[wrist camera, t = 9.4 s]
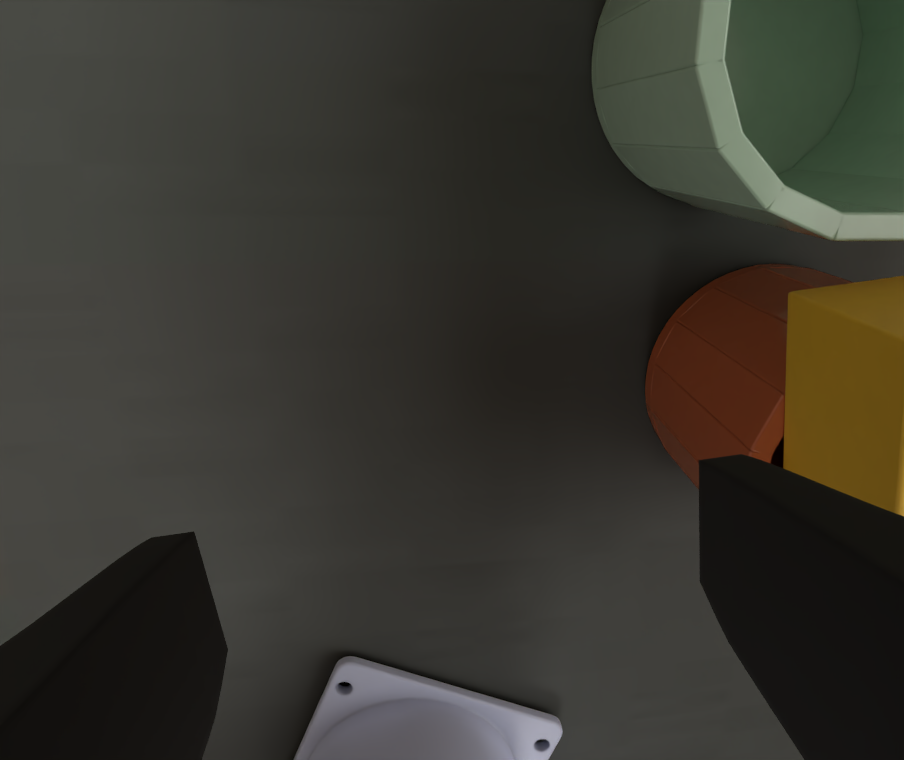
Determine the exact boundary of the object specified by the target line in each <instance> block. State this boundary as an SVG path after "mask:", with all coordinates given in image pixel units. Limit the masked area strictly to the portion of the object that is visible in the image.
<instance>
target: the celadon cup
mask: <svg viewBox="0 0 904 760" xmlns="http://www.w3.org/2000/svg"><path fill="white" fill-rule="evenodd" d="M592 88H593V97H594V102H595V106H596V110H597V114H598V118H599V121H600V123H601V126H602V128H603V131H604V134H605V136H606V138H607V139H608V141H609V143H610V145H611V147H612V149H613V150H614V152H615V153H616V154H617V156H618V157H619V158H620V160H621V161H622V162H623V164H624V165H625V166H626V167H627V168H628V169H629V170H630V171H631V172H632V173H633V174H634V175H635V176H636V177H637V178H639V179H640V180H641V181H643V182H644V183H645V184H646V185H648V186H649V187H651V188H653V189H655V190H656V191H658V192H660V193H662V194H664V195H666V196H669V197H672V198H674V199H677V200H680V201H683V202H685V203H687V204H689V205H692V206H694V207H698V208H702V209H706V210H710V211H714V212H718V213H722V214H726V215H730V216H734V217H739V218H743V219H747V220H751V221H755V222H759V223H763V224H767V225H771V226H775V227H779V228H783V229H787V230H791V231H795V232H799V233H803V234H807V235H811V236H815V237H819V238H823V239H827V240H832V241H904V0H606V2H605V5H604V8H603V10H602V13H601V16H600V19H599V22H598V26H597V30H596V34H595V38H594V45H593V53H592Z"/></svg>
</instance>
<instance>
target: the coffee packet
mask: <svg viewBox="0 0 904 760" xmlns="http://www.w3.org/2000/svg"><path fill="white" fill-rule="evenodd" d="M783 469H786V470H789V471H791V472H793V473H796V474H798V475H801V476H803V477H806V478H808V479H811V480H813V481H815V482H818V483H820V484H823V485H825V486H828V487H830V488H833V489H835V490H838V491H840V492H842V493H845V494H847V495H850V496H852V497H855V498H857V499H860V500H862V501H865V502H867V503H870V504H872V505H875V506H878V507H880V508H883V509H885V510H888V511H891V512H893V513H896V514H899V515H901V516H904V276H899V277H891V278H884V279H877V280H870V281H863V282H856V283H848V284H841V285H834V286H827V287H820V288H812V289H805V290H798V291H792V292H790V293H789V294H788V315H787V351H786V386H785V421H784V457H783Z"/></svg>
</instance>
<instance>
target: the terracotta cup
mask: <svg viewBox="0 0 904 760" xmlns="http://www.w3.org/2000/svg"><path fill="white" fill-rule="evenodd" d="M848 283H854V282H851V281H848V280H845V279H842V278H839V277H836V276H832V275H829V274H826V273H823V272H820V271H817V270H814V269H811V268H807V267H798V266H793V265H785V264H765V265H756V266H751V267H746V268H742V269H739V270H736V271H733V272H730V273H728V274H726V275H724V276H721V277H719V278H717V279H715V280H713V281H712V282H710V283H709V284H707V285H705V286H704V287H702V288H701V289H699V290H698V291H697V292H695V293H694V294H693V295H692V296H691V297H689V298H688V299H687V300H686V301H685V302H684V303H683V304H682V305H681V306H680V307H679V308H678V309H677V310H676V311H675V313H674V314H673V315H672V317H671V318H670V319H669V320H668V322H667V323H666V325H665V326H664V328H663V330H662V331H661V333H660V335H659V336H658V339H657V341H656V343H655V345H654V348H653V350H652V353H651V356H650V360H649V363H648V367H647V373H646V380H645V397H646V406H647V410H648V414H649V418H650V421H651V423H652V426H653V428H654V430H655V433H656V434H657V436H658V437H659V439H660V441H661V442H662V445H663V446H664V448H665V449H666V451H667V452H668V453H669V454H670V456H671V457H672V458H673V459H674V460H675V462H676V463H677V464H678V465H679V466H680V468H681V469H682V470H683V471H684V472H685V474H686V475H687V476H688V477H689V478H690V480H691V481H692V482H693V483H694V485H695V486H696V487H697V488H698V489H699V460H703V459H710V458H717V457H724V456H731V455H738V454H743V455H747V456H750V457H754V458H757V459H759V460H762V461H765V462H768V463H771V464H773V465H776V466H778V467H781V468H783V457H784V421H785V386H786V351H787V315H788V294H789V293H790V292H792V291H798V290H805V289H812V288H820V287H827V286H834V285H841V284H848Z"/></svg>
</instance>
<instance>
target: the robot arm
mask: <svg viewBox="0 0 904 760" xmlns="http://www.w3.org/2000/svg"><path fill="white" fill-rule="evenodd" d="M699 532H700V583H701V585H702V587H703V589H704V591H705V594H706V596H707V598H708V600H709V602H710V605H711V607H712V609H713V611H714V613H715V615H716V617H717V620H718V622H719V624H720V626H721V628H722V630H723V632H724V634H725V636H726V638H727V640H728V642H729V644H730V645H731V647H732V648H733V650H734V652H735V653H736V655H737V656H738V658H739V660H740V661H741V663H742V664H743V666H744V667H745V669H746V670H747V672H748V674H749V675H750V677H751V678H752V680H753V681H754V683H755V685H756V686H757V688H758V689H759V691H760V692H761V694H762V695H763V697H764V698H765V700H766V701H767V703H768V705H769V706H770V708H771V709H772V711H773V712H774V714H775V715H776V717H777V718H778V720H779V721H780V723H781V724H782V726H783V727H784V729H785V731H786V732H787V734H788V735H789V737H790V738H791V740H792V741H793V743H794V744H795V746H796V747H797V749H798V750H799V752H800V754H801V755H802V757H803V758H804V760H904V516H901V515H899V514H896V513H893V512H891V511H888V510H885V509H883V508H880V507H878V506H875V505H872V504H870V503H867V502H865V501H862V500H860V499H857V498H855V497H852V496H850V495H847V494H845V493H842V492H840V491H838V490H835V489H833V488H830V487H828V486H825V485H823V484H820V483H818V482H815V481H813V480H811V479H808V478H806V477H803V476H801V475H798V474H796V473H793V472H791V471H789V470H786V469H783V468H781V467H778V466H776V465H773V464H771V463H768V462H765V461H762V460H759V459H757V458H754V457H750V456H747V455H743V454H738V455H731V456H724V457H717V458H710V459H703V460H699ZM227 652H228V648H227V645H226V641H225V638H224V634H223V631H222V627H221V624H220V620H219V617H218V613H217V610H216V606H215V603H214V599H213V596H212V592H211V589H210V585H209V582H208V578H207V575H206V571H205V568H204V564H203V561H202V557H201V554H200V550H199V547H198V543H197V540H196V536H195V533H194V532H188V533H181V534H174V535H167V536H160V537H153V538H150V539H148V540H146V541H145V542H143V543H141V544H140V545H138V546H137V547H135V548H134V549H132V550H131V551H129V552H128V553H126V554H125V555H123V556H122V557H121V558H119V559H118V560H116V561H115V562H114V563H112V564H111V565H110V566H108V567H107V568H106V569H104V570H103V571H102V572H100V573H99V574H97V575H96V576H95V577H94V578H92V579H91V580H90V581H88V582H87V583H86V584H84V585H83V586H82V587H80V588H79V589H78V590H76V591H75V592H74V593H72V594H71V595H70V596H68V597H67V598H66V599H64V600H63V601H62V602H60V603H59V604H58V605H56V606H55V607H54V608H52V609H51V610H50V611H48V612H47V613H46V614H44V615H43V616H42V617H40V618H39V619H38V620H36V621H35V622H34V623H32V624H31V625H29V626H28V627H27V628H25V629H24V630H22V631H21V632H20V633H18V634H17V635H15V636H14V637H12V638H11V639H10V640H8V641H7V642H5V643H4V644H2V645H1V646H0V760H202V757H203V754H204V751H205V748H206V744H207V741H208V738H209V735H210V732H211V729H212V726H213V723H214V719H215V716H216V711H217V706H218V701H219V696H220V691H221V686H222V680H223V675H224V669H225V663H226V657H227ZM341 682H348V683H350V684H351V685H349V686H341V685H340V684H339V683H341ZM562 733H563V731H562V726H561V723H560V720H559V719H558V718H557V717H556V716H554V715H551V714H548V713H544V712H541V711H538V710H534V709H531V708H527V707H524V706H521V705H517V704H514V703H511V702H507V701H504V700H500V699H497V698H494V697H490V696H487V695H484V694H480V693H477V692H473V691H470V690H467V689H463V688H460V687H457V686H453V685H450V684H446V683H443V682H440V681H436V680H433V679H429V678H426V677H423V676H419V675H416V674H413V673H409V672H406V671H402V670H399V669H396V668H392V667H389V666H386V665H382V664H379V663H375V662H372V661H369V660H365V659H362V658H358V657H354V656H347V657H343V658H342V659H340V660H339V661H338V662H337V663H336V665H335V667H334V669H333V671H332V674H331V676H330V678H329V680H328V683H327V685H326V687H325V689H324V692H323V694H322V696H321V698H320V701H319V703H318V705H317V708H316V710H315V712H314V714H313V717H312V719H311V721H310V723H309V726H308V728H307V730H306V732H305V735H304V737H303V739H302V741H301V744H300V746H299V748H298V750H297V753H296V755H295V757H294V759H293V760H548V759H549V757H550V756H551V754H552V752H553V750H554V749H555V747H556V745H557V743H558V742H559V740H560V738H561V736H562ZM540 739H545V740H544V741H542V742H536V741H537V740H540Z"/></svg>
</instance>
